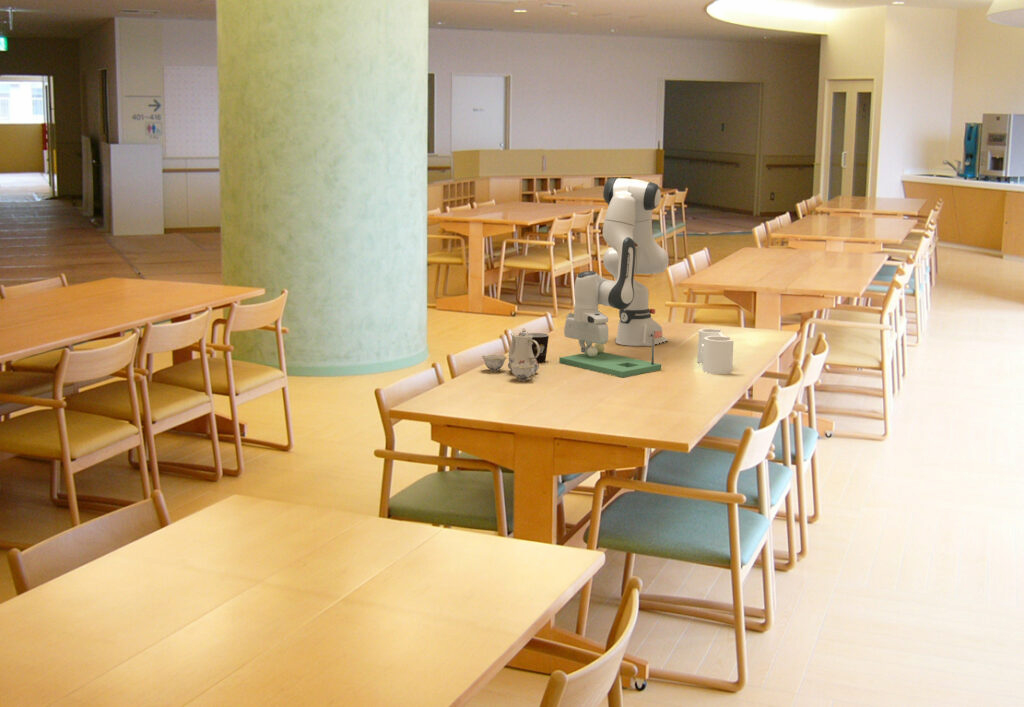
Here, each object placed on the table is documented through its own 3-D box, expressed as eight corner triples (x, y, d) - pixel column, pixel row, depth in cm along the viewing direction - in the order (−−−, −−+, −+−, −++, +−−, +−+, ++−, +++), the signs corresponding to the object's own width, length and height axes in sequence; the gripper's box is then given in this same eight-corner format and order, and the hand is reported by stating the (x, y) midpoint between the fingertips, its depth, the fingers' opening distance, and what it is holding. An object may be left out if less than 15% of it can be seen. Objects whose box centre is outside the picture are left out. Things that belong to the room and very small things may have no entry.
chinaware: (474, 375, 394) (470, 329, 390) (510, 364, 404) (506, 320, 400) (525, 389, 373) (521, 341, 369) (561, 377, 383) (558, 331, 379)
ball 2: (599, 351, 419) (599, 341, 418) (606, 353, 416) (606, 342, 415) (591, 352, 417) (591, 342, 416) (599, 354, 414) (599, 343, 413)
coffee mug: (549, 359, 414) (549, 333, 412) (547, 364, 405) (548, 337, 403) (518, 358, 415) (518, 332, 413) (515, 363, 406) (516, 336, 404)
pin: (659, 362, 399) (660, 329, 397) (661, 363, 399) (662, 330, 396) (650, 364, 396) (651, 331, 394) (652, 364, 396) (653, 331, 393)
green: (598, 356, 421) (598, 350, 420) (661, 369, 397) (661, 364, 396) (559, 362, 408) (559, 357, 407) (622, 377, 384) (622, 371, 384)
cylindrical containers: (694, 360, 414) (695, 328, 412) (720, 360, 414) (721, 328, 412) (705, 374, 390) (706, 340, 388) (732, 375, 390) (734, 341, 388)
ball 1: (591, 352, 412) (594, 343, 410) (597, 358, 409) (601, 349, 407) (583, 353, 409) (586, 344, 407) (589, 360, 407) (593, 351, 405)
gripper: (560, 312, 414) (560, 349, 417) (599, 320, 399) (598, 357, 401) (573, 311, 418) (572, 347, 421) (611, 318, 403) (610, 355, 405)
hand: (585, 352), depth 411 cm, fingers closed
